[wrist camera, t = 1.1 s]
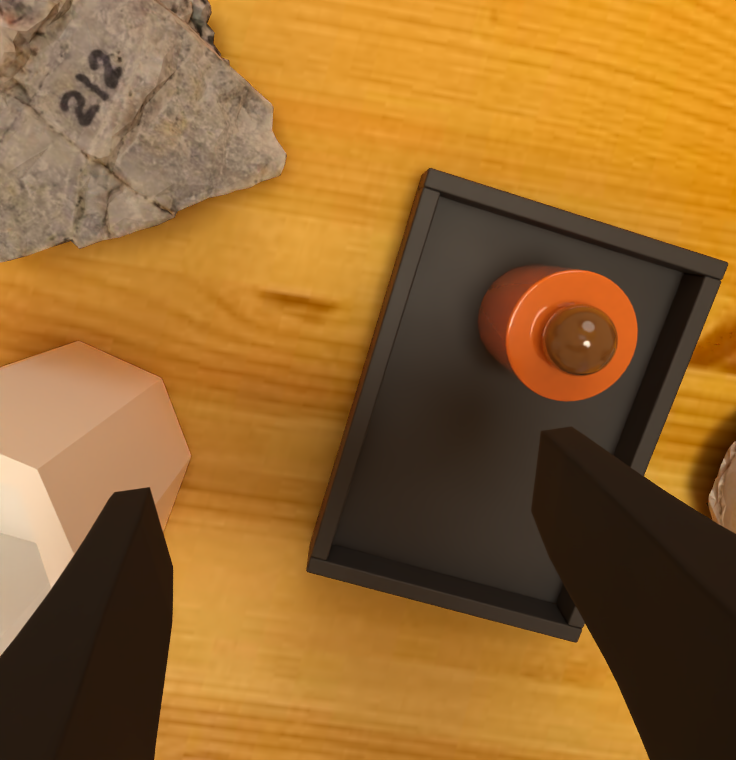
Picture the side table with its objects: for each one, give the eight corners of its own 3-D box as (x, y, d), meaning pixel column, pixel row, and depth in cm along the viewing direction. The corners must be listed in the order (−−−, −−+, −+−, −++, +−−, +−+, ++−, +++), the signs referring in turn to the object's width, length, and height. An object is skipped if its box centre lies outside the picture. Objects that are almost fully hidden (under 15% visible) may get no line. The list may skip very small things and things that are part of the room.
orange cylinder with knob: (602, 282, 23) (686, 297, 17) (564, 385, 24) (633, 432, 18) (498, 250, 23) (548, 253, 17) (463, 355, 24) (499, 394, 18)
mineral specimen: (132, 73, 27) (139, 323, 26) (-117, -12, 21) (-117, 303, 20) (278, -67, 20) (294, 268, 19) (-35, -248, 14) (-31, 216, 13)
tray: (422, 173, 23) (429, 167, 21) (697, 260, 24) (730, 262, 22) (309, 545, 26) (305, 572, 24) (560, 612, 27) (577, 643, 24)
